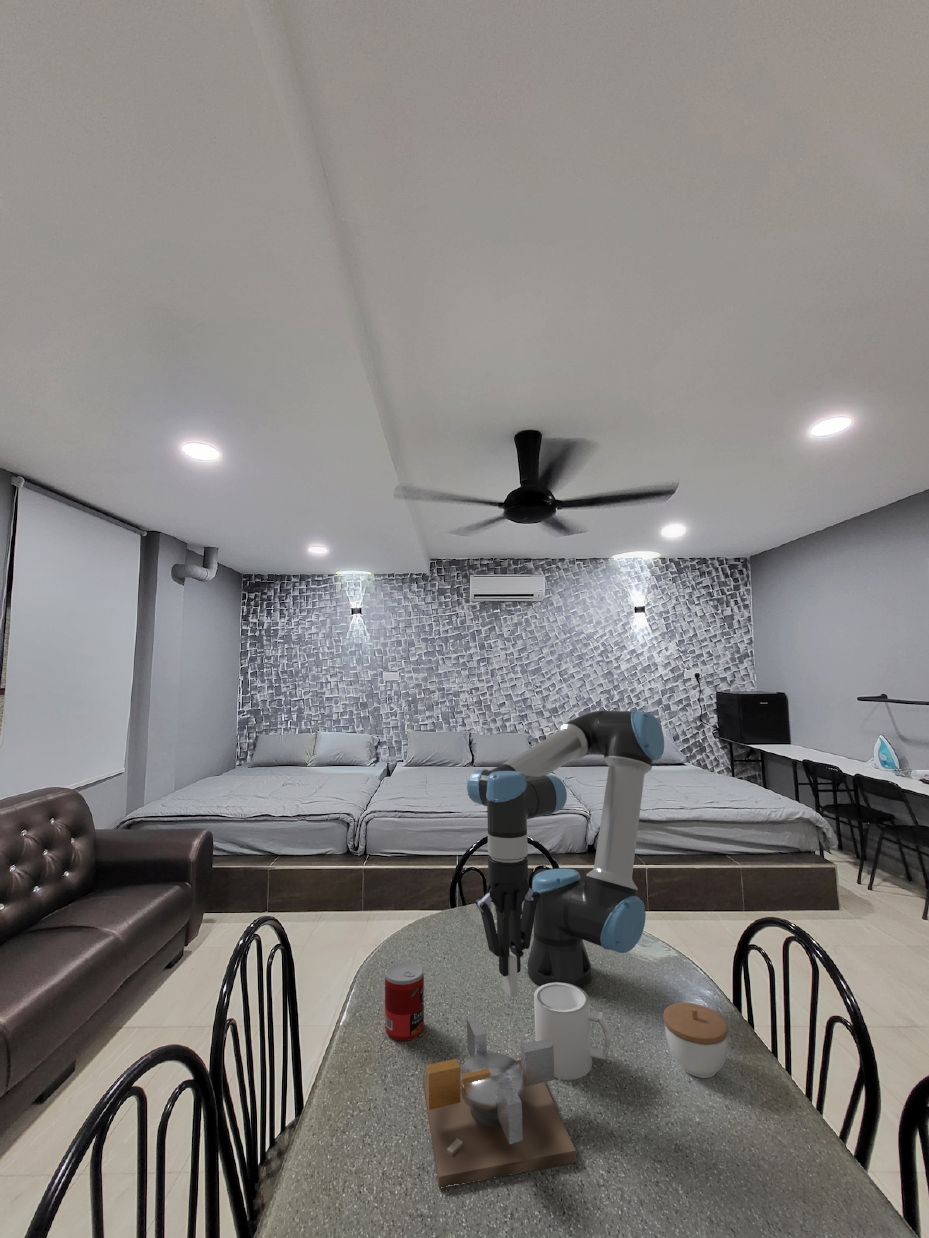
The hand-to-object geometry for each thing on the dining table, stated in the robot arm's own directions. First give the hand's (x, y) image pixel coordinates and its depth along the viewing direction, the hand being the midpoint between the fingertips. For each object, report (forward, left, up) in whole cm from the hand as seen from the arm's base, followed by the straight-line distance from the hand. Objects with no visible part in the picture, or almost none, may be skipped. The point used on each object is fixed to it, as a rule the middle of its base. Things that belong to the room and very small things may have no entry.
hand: (510, 992), depth 97 cm
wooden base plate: (+6, +10, -13) cm, 17 cm away
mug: (-11, 0, -13) cm, 17 cm away
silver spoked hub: (+6, +10, -9) cm, 15 cm away
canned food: (+18, -16, -13) cm, 28 cm away
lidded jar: (-33, +6, -13) cm, 36 cm away
